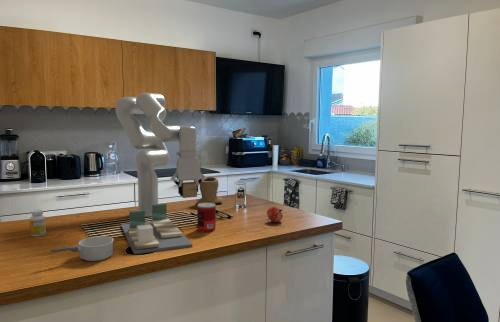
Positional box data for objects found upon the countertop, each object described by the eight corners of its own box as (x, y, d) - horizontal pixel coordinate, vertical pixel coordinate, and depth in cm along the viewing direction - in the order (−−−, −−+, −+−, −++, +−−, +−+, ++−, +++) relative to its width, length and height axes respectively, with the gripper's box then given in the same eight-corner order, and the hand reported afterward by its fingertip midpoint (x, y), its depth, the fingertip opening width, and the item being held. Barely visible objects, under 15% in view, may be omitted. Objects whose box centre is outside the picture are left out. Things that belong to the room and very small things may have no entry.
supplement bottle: (31, 233, 159) (30, 209, 158) (46, 232, 161) (45, 209, 160) (29, 237, 154) (28, 213, 153) (44, 235, 156) (43, 212, 155)
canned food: (218, 227, 171) (218, 203, 169) (211, 233, 163) (211, 207, 162) (201, 226, 173) (201, 201, 172) (194, 231, 165) (194, 205, 164)
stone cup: (202, 207, 208) (202, 179, 206) (194, 202, 219) (194, 176, 217) (227, 204, 215) (228, 177, 214) (219, 200, 226) (219, 174, 224)
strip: (150, 222, 173) (149, 204, 172) (167, 220, 177) (167, 203, 176) (162, 238, 151) (161, 218, 150) (182, 235, 154) (182, 216, 153)
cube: (180, 195, 176) (179, 182, 175) (193, 194, 178) (192, 181, 177) (183, 197, 170) (183, 184, 169) (196, 196, 173) (196, 183, 172)
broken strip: (127, 230, 160) (126, 211, 159) (146, 228, 164) (146, 209, 163) (136, 249, 138) (136, 227, 137) (159, 246, 142) (159, 225, 141)
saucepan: (46, 261, 129) (46, 245, 129) (106, 248, 142) (106, 234, 142) (56, 272, 121) (56, 255, 120) (119, 257, 134) (119, 242, 133)
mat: (121, 226, 170) (121, 224, 170) (169, 221, 179) (169, 219, 179) (134, 254, 137) (134, 251, 137) (192, 246, 146) (192, 244, 146)
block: (137, 238, 146) (136, 225, 146) (150, 237, 148) (150, 224, 148) (139, 242, 142) (139, 229, 141) (153, 241, 144) (153, 227, 143)
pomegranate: (265, 227, 180) (279, 217, 174) (258, 213, 183) (273, 203, 177) (275, 226, 186) (289, 216, 180) (268, 212, 188) (283, 202, 183)
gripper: (170, 155, 165) (171, 197, 167) (209, 154, 172) (209, 194, 174) (166, 154, 172) (167, 194, 174) (203, 153, 179) (204, 191, 181)
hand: (188, 194), depth 174 cm, fingers closed on cube, 6 cm apart
